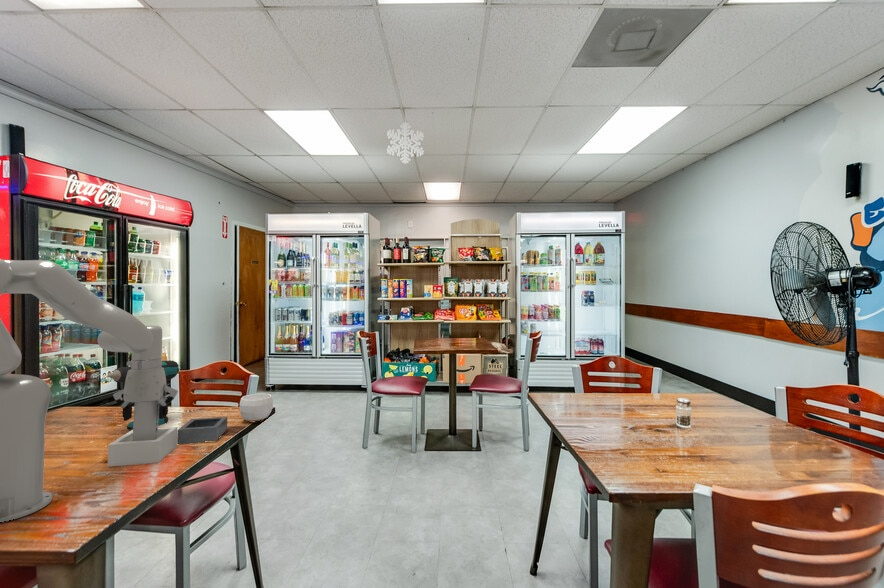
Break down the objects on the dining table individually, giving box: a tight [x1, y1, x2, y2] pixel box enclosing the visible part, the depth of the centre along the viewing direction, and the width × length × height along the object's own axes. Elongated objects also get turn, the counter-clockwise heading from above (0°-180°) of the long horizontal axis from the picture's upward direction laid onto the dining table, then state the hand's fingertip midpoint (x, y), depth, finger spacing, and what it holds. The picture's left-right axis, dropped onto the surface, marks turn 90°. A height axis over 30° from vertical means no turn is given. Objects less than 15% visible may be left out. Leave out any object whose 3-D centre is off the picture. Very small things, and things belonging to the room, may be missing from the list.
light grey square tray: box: [107, 426, 179, 468], centre depth 119 cm, size 13×13×6 cm
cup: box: [239, 392, 274, 422], centre depth 154 cm, size 12×12×10 cm
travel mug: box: [132, 401, 159, 441], centre depth 119 cm, size 6×7×20 cm
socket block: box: [177, 416, 228, 445], centre depth 135 cm, size 12×12×5 cm
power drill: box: [106, 360, 180, 430], centre depth 144 cm, size 26×9×25 cm, turn 168°
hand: (145, 418), depth 119 cm, fingers open, 9 cm apart
